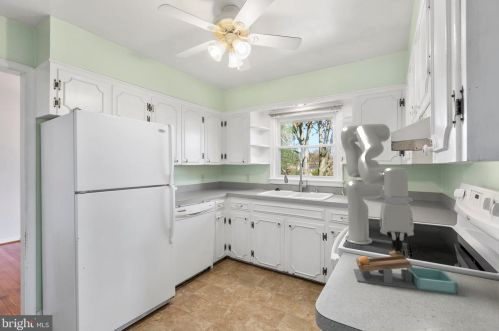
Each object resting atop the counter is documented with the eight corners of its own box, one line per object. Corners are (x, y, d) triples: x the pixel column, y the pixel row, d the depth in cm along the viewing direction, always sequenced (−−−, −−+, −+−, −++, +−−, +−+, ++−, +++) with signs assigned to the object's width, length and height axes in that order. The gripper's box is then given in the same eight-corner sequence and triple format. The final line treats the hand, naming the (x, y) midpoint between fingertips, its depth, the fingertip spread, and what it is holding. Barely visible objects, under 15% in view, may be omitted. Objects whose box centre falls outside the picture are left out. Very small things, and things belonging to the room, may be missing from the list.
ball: (363, 265, 83) (356, 258, 84) (370, 259, 83) (363, 252, 83) (364, 269, 80) (358, 261, 81) (372, 263, 79) (365, 256, 80)
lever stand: (353, 270, 87) (353, 257, 87) (406, 275, 82) (406, 262, 82) (357, 281, 78) (357, 267, 78) (417, 288, 73) (416, 273, 73)
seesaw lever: (355, 260, 92) (353, 251, 92) (400, 255, 87) (398, 246, 87) (360, 274, 79) (358, 264, 79) (414, 270, 75) (411, 259, 75)
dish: (406, 275, 82) (406, 266, 82) (441, 279, 79) (441, 269, 79) (417, 289, 73) (417, 279, 73) (457, 293, 70) (457, 283, 70)
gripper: (415, 199, 88) (416, 248, 87) (371, 198, 92) (372, 245, 92) (423, 202, 81) (425, 255, 80) (375, 201, 85) (376, 252, 85)
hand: (396, 250), depth 86 cm, fingers closed
